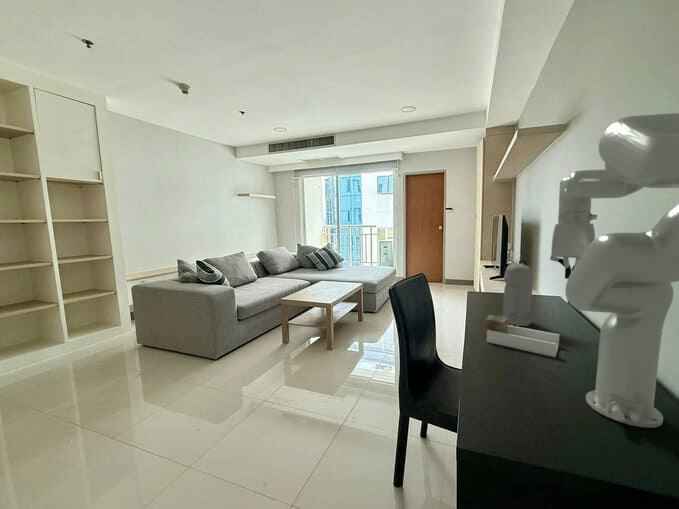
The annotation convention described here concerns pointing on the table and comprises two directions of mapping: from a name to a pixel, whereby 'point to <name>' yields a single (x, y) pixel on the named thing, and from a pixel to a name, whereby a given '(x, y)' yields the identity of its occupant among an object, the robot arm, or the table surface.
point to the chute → (526, 340)
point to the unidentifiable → (518, 294)
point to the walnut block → (496, 324)
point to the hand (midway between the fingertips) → (570, 281)
